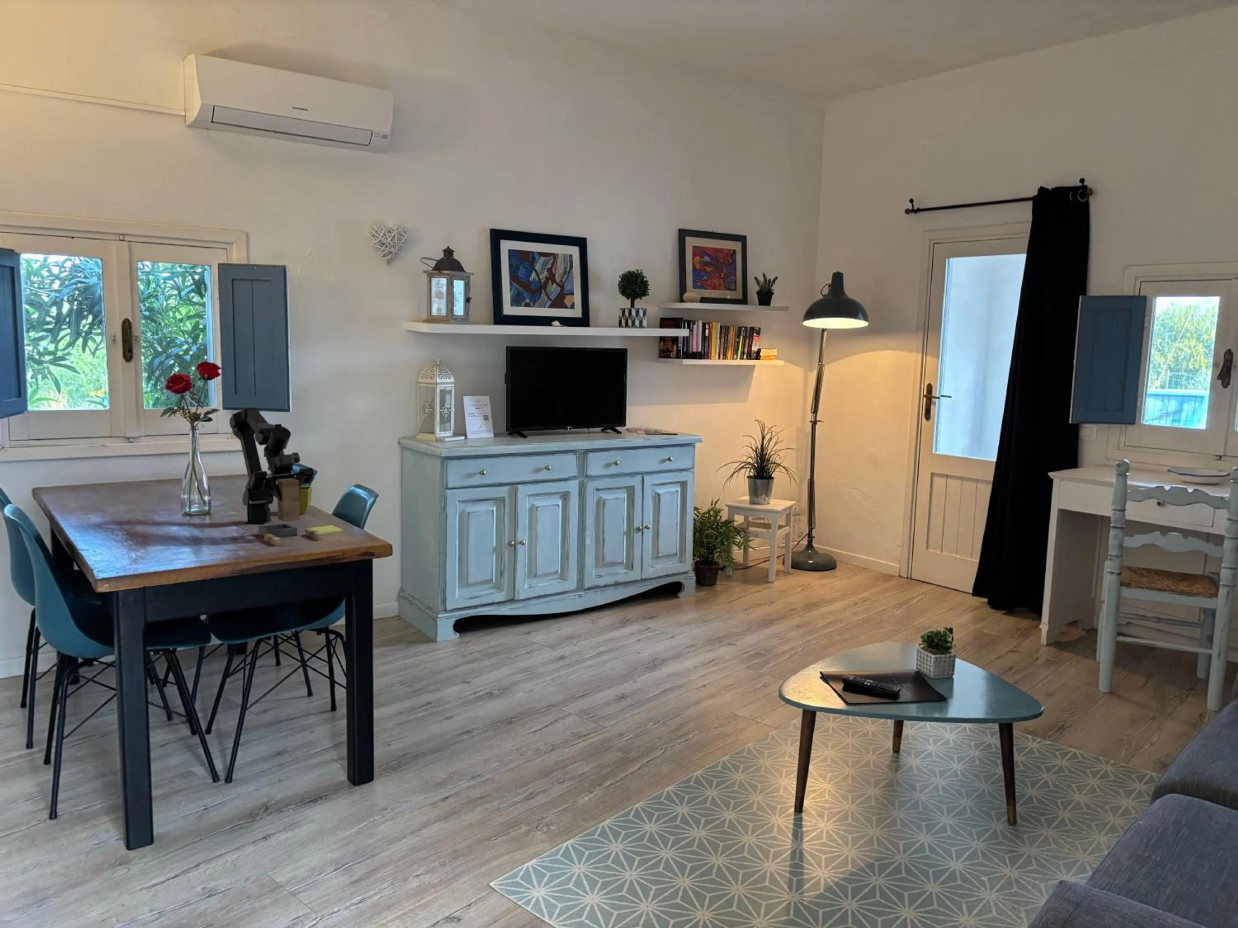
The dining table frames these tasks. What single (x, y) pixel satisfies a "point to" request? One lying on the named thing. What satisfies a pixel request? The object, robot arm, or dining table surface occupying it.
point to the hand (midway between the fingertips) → (289, 499)
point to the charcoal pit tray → (278, 530)
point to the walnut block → (288, 500)
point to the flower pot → (305, 498)
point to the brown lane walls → (277, 541)
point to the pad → (327, 529)
